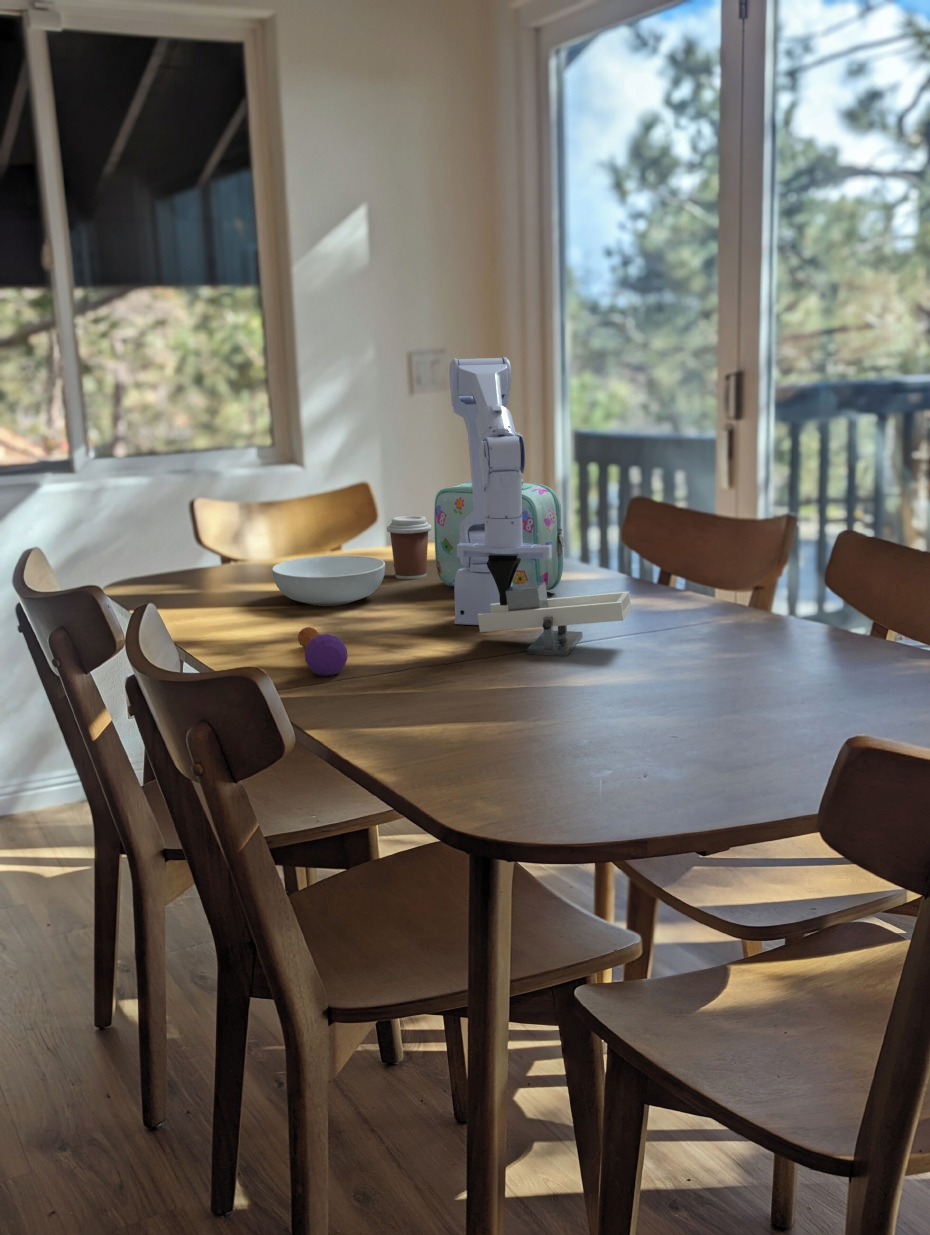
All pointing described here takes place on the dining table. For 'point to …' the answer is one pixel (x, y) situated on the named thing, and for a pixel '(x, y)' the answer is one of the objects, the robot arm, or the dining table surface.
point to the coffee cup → (409, 546)
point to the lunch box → (536, 529)
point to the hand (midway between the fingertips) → (504, 604)
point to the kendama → (323, 652)
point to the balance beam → (559, 612)
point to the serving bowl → (329, 578)
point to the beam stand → (554, 640)
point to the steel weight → (527, 596)
